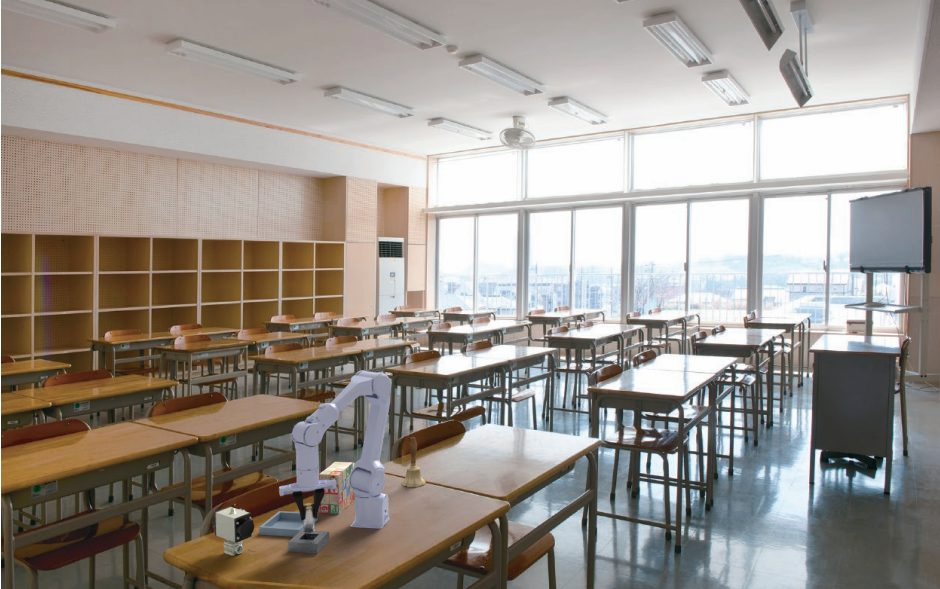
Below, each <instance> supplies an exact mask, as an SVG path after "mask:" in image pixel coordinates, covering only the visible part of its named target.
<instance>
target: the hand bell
mask: <svg viewBox="0 0 940 589" xmlns="http://www.w3.org/2000/svg"><path fill="white" fill-rule="evenodd" d="M416 439H417V438H416V437H415V436H412V437H411V438H410V441H409V453H410V466H408V467H407V468H406V474H405V477H404V479H402V481H401V485H402V487H405V486H407V488H419V487H422V485H423V486H425V485H426V480H425V479H424V478H423V477H422V474H421V468H420V467H419V466H417V464H416V462H417V461H416V459H417V458H416V454H417V451H418V443H417V440H416Z"/></svg>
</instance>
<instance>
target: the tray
mask: <svg viewBox="0 0 940 589" xmlns="http://www.w3.org/2000/svg"><path fill="white" fill-rule="evenodd" d="M318 519H319V518H318V516H317V518H316V519H314V524H316V522H317V521H318ZM258 530H259V531H258V532H259V533H258V534H259V535H263V536H264V535H265V536H276V537H277V536H279V537H292V538H293V537H294V536H295V535H296V534H297V533H298V532H300V531H301V530H304V525H303V520H302V521H301V518H300V512H299V511H286V510H285V511H284V510H283V511H282V510H279V511H277V512H276V513H275V514H274V515H272V516H271V517H270V518H268V519H267V520H266V521H265V522H263V524H261V525H260V526H259V527H258Z"/></svg>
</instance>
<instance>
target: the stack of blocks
mask: <svg viewBox="0 0 940 589" xmlns="http://www.w3.org/2000/svg"><path fill="white" fill-rule="evenodd" d="M354 463H355V462H350V461H349V462H348V461H347V462H345V461H334V462H333V463H331V465H329V466H328V467H327V468H325V469H324V470H323V471H321V472H320V473H319V480H334V479H335V480H336V489H332V488H330V489H324V492H325V494H324V497H323V499H322V501H321V504H320V507H319V513H321V514H335V515H339V514H341V513H342V511H344V510H345V509H346V508H347V507H348V506H349V505H351V503H352V502H353V501H354V500H355V499H354V498H355V493H353V488H351V487H350V485H349V476H350V474H351V472H352V470H353V467H354ZM353 499H354V500H353ZM352 500H353V501H352ZM351 501H352V502H351ZM350 502H351V503H350Z"/></svg>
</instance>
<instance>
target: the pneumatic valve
mask: <svg viewBox="0 0 940 589" xmlns="http://www.w3.org/2000/svg"><path fill="white" fill-rule="evenodd" d="M211 525H212V527H213V528H214V535H215V536H217V537H219V538H221V539H224V542H223V548H224V550H223V553H224V554H226V555H229V556H236V555H240V554H241V553H243V552H244V545H243V543H244V540H247V539H249V538H251V537H252V536H253V535H252V534H253V533H254V531H255V523H254V519H252V513H251V512H247V511H246V510H245V509H242V508H239V509H238V508H234V507H232V506H228V507H224V508H221V509H219V510H217V511H214V515H213V517H212V519H211Z"/></svg>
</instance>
